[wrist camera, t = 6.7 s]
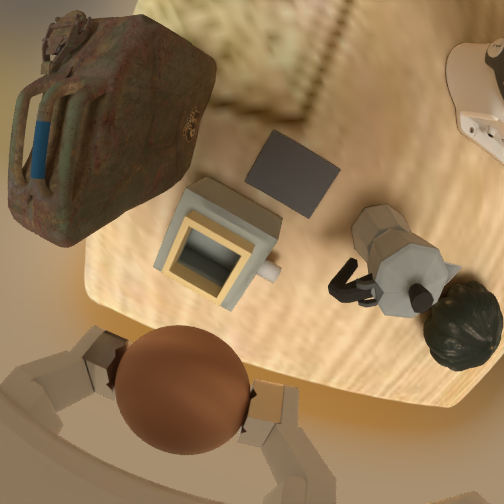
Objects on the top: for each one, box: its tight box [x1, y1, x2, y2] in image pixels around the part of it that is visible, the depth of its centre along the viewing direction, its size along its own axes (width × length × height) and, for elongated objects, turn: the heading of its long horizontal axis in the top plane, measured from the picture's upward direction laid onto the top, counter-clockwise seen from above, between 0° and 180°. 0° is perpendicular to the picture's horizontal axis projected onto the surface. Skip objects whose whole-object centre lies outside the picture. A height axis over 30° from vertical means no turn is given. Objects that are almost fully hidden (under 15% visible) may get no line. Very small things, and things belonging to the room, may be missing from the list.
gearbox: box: [153, 176, 283, 311], centre depth 37 cm, size 15×12×10 cm
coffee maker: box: [328, 203, 461, 318], centre depth 30 cm, size 15×9×18 cm, turn 106°
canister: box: [8, 10, 216, 248], centre depth 25 cm, size 19×8×25 cm, turn 162°
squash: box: [423, 281, 503, 371], centre depth 35 cm, size 14×15×15 cm
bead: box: [115, 325, 250, 455], centre depth 8 cm, size 4×4×4 cm
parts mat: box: [245, 130, 340, 219], centre depth 37 cm, size 10×8×1 cm
